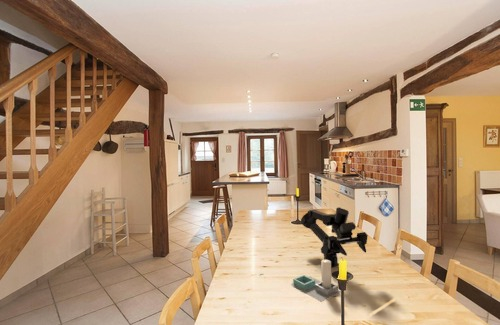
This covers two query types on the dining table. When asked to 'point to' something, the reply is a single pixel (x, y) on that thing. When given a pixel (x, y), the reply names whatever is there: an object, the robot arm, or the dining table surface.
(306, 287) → the teal socket
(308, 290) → the console board
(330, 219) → the robot arm
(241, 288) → the dining table surface
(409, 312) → the dining table surface
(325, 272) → the plug
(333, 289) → the grey socket
